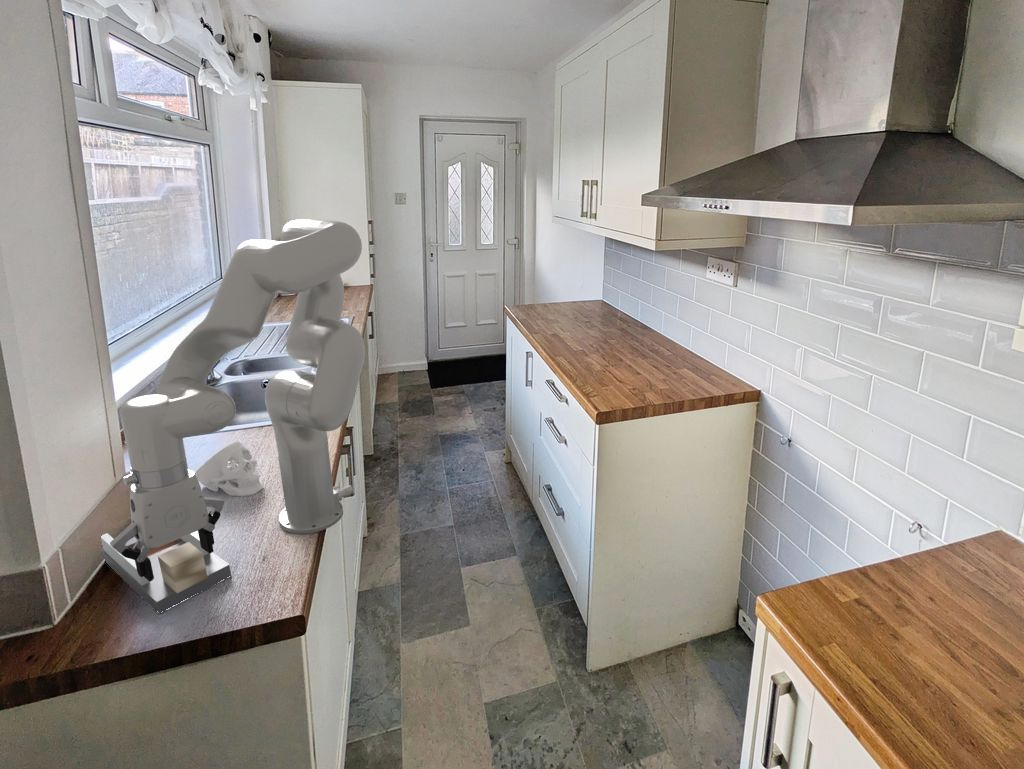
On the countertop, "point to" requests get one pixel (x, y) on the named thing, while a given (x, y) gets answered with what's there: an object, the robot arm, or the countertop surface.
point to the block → (182, 567)
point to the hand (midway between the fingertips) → (178, 563)
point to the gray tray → (157, 589)
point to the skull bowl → (231, 471)
